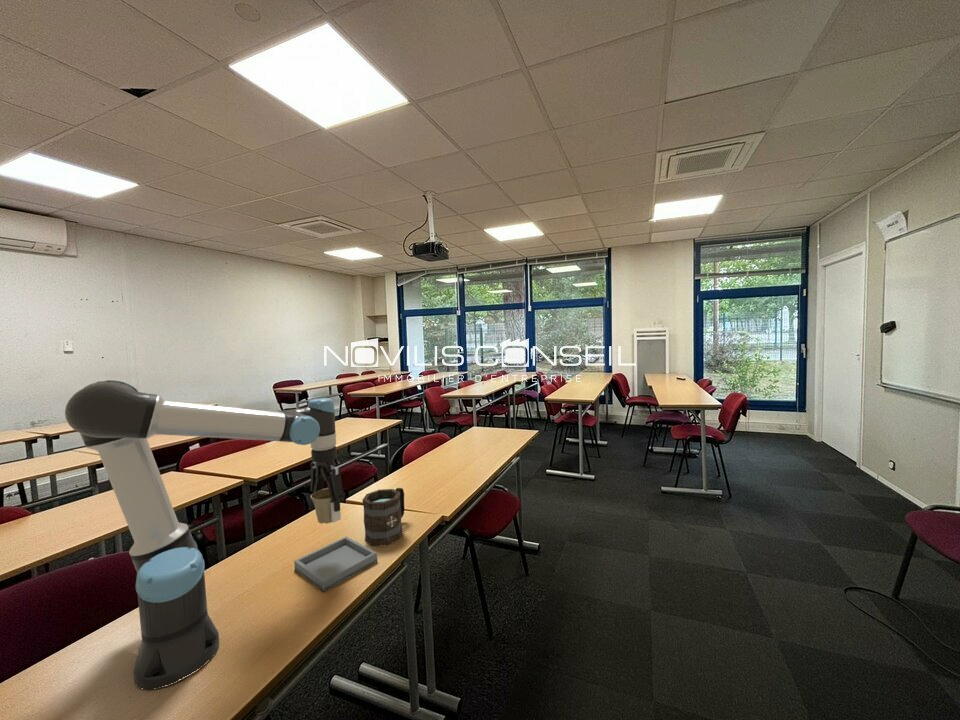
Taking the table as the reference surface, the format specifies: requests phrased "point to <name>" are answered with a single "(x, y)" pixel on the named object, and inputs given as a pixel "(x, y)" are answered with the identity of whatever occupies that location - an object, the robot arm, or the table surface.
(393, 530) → the mug
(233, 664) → the table surface
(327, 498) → the flower pot
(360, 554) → the tray
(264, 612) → the table surface
